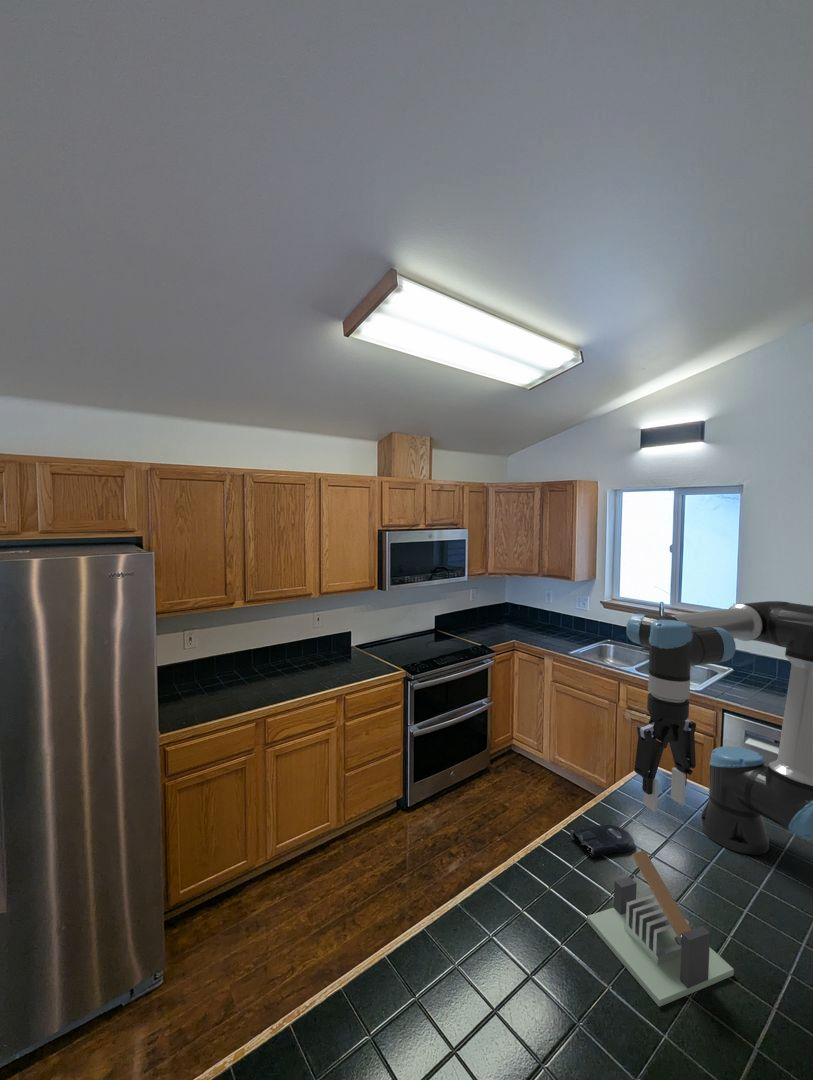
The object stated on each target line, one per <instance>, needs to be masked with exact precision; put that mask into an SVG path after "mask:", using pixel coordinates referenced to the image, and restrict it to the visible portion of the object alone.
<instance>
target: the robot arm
mask: <svg viewBox="0 0 813 1080" xmlns="http://www.w3.org/2000/svg"><path fill="white" fill-rule="evenodd" d="M625 632H626V635H627V638H628V639H629V640H630V641H631V642H632V643H635V644H637V645H640V646H641V647H645V648H648V650H649V651H648V652H649V653H648V655H649V657H648V658H649V659H648V660H649V661H648V682H647V683H648V684H647V691H648V692H649V693H648V694H647V700H646V701H647V705H646V706H647V707H646V709H647V712H648V714H649V716H650V718H649V721H648V724H647V725H645V726H642V725H638V726H637V728H636V730H637V731H636V732H637V736H638V738H637V744H636V745H637V746H636V753H635V762H634V772H635V773H636V774H637V775H639V776H640V777H642V787H641V788H642V791H643V806H645V807H647V808H648V809H649V810H651V811H652V812H653V813H655V812H656V813H657V812H658V798H659V797H658V794H659V779H658V778H656V776H657V772H658V769H659V766H660V763H661V759H662V756H663V752H664V749H666V748H667V747H668V745H669V747H670V750H671V754H672V758H673V759H672V760H673V762H674V767H671V782H670V799H672V800H673V801H675V802H676V803H678V804H680V806H684V805H686V804H685V803H686V802H685V801H686V800H685V799H686V787H687V785H688V784H687V779H688V776H691V775H692V774H693V770H692V769H695V768H696V765H697V760H696V741H695V739H696V738H695V737H696V736H695V732H696V728H697V723H696V722H695V721H691V720H690V719H689V716H690V701H689V700H688V699H690V697H691V667H694V666H695V667H696V666H703V665H711V664H712V665H715V664H716V665H717V664H720V663H723V662H727V661H729V660H731V659H732V658H733V657H734V656H735V654H736V648H737V646H736V641H735V639H737V640H739V641H743V642H747V641H748V642H749V641H750V642H751V641H755V642H760V643H766V644H770V645H773V646H777V647H781V648H785V654H784V657H785V658H786V659H787V660H788V661H789V662H790V664H791V665H790V666H791V667H790V673H789V679H788V680H789V681H788V684H787V685H788V686H787V692H786V699H785V706H784V713H783V719H782V725H781V733H780V740H779V745H778V746H779V747H778V753H777V759H776V760H773V761H770V762H769V763H768V766H767V765H766V764H765V763H766V760H765V758H764V756H763V755H762V754H761V753H759V752H757V751H755V750H751V749H749V748H744V747H738V746H727V745H726V746H718V747H716V748H713V750H712V751H711V755H710V761H709V789H708V793H709V794H708V800H707V803H706V805H705V807H704V809H703V811H702V813H701V815H700V829H701V831H702V832H703V833H704V834H705V836H707V837H708V838H709V839H710V840H712V841H713V842H714V843H716V844H718V845H720V846H722V847H723V848H725V849H728V850H731V851H732V852H733V851H734V852H736V853H740V854H743V855H744V854H745V855H752V856H754V855H755V856H759V855H764V854H766V853H767V852H768V851H769V849H770V837H769V833H768V831H767V829H766V825H765V822H764V818H766V819H768V820H769V821H771V822H772V823H775V824H776V825H778V826H780V827H781V828H783V829H786V830H787V831H789V833H791V834H793V835H796V836H799V837H800V838H803V839H805V840H807V841H808V842H813V605H809V604H801V603H795V602H794V603H793V602H788V601H782V600H781V601H780V600H779V601H778V600H777V601H776V600H774V601H773V600H769V601H756V602H747V603H739V604H734V605H731V606H730V607H728V608H727V609H725V608H724V609H718V610H708V611H707V610H706V611H698V612H688V613H678V614H677V613H676V614H670V615H669V614H668V615H656V616H655V615H649V614H646V613H645V614H643V613H636V614H633V615H632V616H630V618H629V619H628V621H627V623H626V630H625ZM763 817H764V818H763Z"/></svg>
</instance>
